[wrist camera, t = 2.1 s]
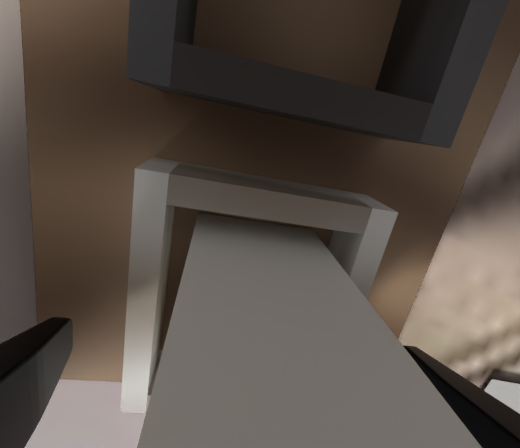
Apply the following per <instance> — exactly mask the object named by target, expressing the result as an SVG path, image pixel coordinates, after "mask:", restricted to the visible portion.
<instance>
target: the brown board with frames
mask: <svg viewBox="0 0 520 448" xmlns="http://www.w3.org/2000/svg"><path fill="white" fill-rule="evenodd" d="M20 12H21V30H22V48H23V66H24V84H25V103H26V121H27V139H28V157H29V175H30V194H31V212H32V230H33V248H34V266H35V284H36V303H37V321H38V324H40V323H41V322H43V321H45V320H47V319H49V318H51V317H65V318H70V319H71V320H72V322H73V348H72V352H71V355H70V357H69V359H68V361H67V364H66V366H65V368H64V370H63V372H62V374H61V377H60V379H69V380H90V381H110V382H122V392H121V408H120V412H128V413H146V412H147V409H148V405H149V401H150V397H151V393H152V389H153V385H154V382H155V378H156V374H157V370H158V366H159V362H160V359H161V355H162V351H163V347H164V343H165V339H166V335H167V332H168V328H169V324H170V320H171V316H172V312H173V308H174V305H175V301H176V297H177V293H178V289H179V285H180V282H181V278H182V274H183V270H184V266H185V262H186V258H187V255H188V251H189V247H190V243H191V239H192V235H193V231H194V228H195V224H196V220H197V216H198V213H203V214H210V215H217V216H224V217H230V218H237V219H244V220H250V221H257V222H264V223H270V224H277V225H284V226H291V227H297V228H304V229H311V230H313V231H314V232H315V233H316V234H317V236H318V237H319V238H320V240H321V241H322V242H323V243H324V245H325V246H326V247H327V249H328V250H329V251H330V252H331V254H332V255H333V256H334V258H335V259H336V260H337V262H338V263H339V264H340V265H341V267H342V268H343V269H344V271H345V272H346V273H347V274H348V276H349V277H350V278H351V280H352V281H353V282H354V283H355V285H356V286H357V287H358V289H359V290H360V291H361V292H362V294H363V295H364V296H365V298H366V299H367V300H368V301H369V303H370V304H371V305H372V307H373V308H374V309H375V310H376V312H377V313H378V314H379V316H380V317H381V318H382V319H383V321H384V322H385V323H386V325H387V326H388V327H389V328H390V330H391V331H392V332H393V334H394V335H395V336H396V338H397V339H398V338H399V335H400V333H401V331H402V328H403V326H404V324H405V321H406V319H407V316H408V314H409V312H410V309H411V307H412V305H413V302H414V300H415V298H416V295H417V293H418V291H419V288H420V286H421V284H422V281H423V279H424V276H425V274H426V272H427V269H428V267H429V265H430V262H431V260H432V258H433V255H434V253H435V251H436V248H437V246H438V244H439V241H440V239H441V236H442V234H443V232H444V229H445V227H446V225H447V222H448V220H449V218H450V215H451V213H452V211H453V208H454V206H455V203H456V201H457V199H458V196H459V194H460V192H461V189H462V187H463V185H464V182H465V180H466V178H467V175H468V173H469V171H470V168H471V166H472V163H473V161H474V159H475V156H476V154H477V152H478V149H479V147H480V145H481V142H482V140H483V138H484V135H485V133H486V130H487V128H488V126H489V123H490V121H491V119H492V116H493V114H494V112H495V109H496V107H497V105H498V102H499V100H500V98H501V95H502V93H503V90H504V88H505V86H506V83H507V81H508V79H509V76H510V74H511V72H512V69H513V67H514V65H515V62H516V60H517V58H518V55H519V53H520V0H20Z"/></svg>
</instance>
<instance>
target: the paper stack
mask: <svg viewBox="0 0 520 448" xmlns="http://www.w3.org/2000/svg"><path fill="white" fill-rule="evenodd" d="M484 391H485V392H487V393H488V394H490V395H491V396H493V397H494V398H496V399H498V400H499V401H501V402H502V403H504V404H505V405H507V406H508V407H510V408H512V409H513V410H515V411H516V412H518V413H519V414H520V384H518V383H512V382H506V381H501V380H495V379H492V380H491V381H490V382H489V384H488V385H487V387H486V388H485V390H484Z"/></svg>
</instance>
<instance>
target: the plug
mask: <svg viewBox="0 0 520 448" xmlns="http://www.w3.org/2000/svg"><path fill="white" fill-rule="evenodd" d="M137 448H482V447H481V446H480V444H479V443H478V442H477V441H476V439H475V438H474V437H473V435H472V434H471V433H470V432H469V430H468V429H467V428H466V426H465V425H464V424H463V423H462V421H461V420H460V419H459V417H458V416H457V415H456V413H455V412H454V411H453V410H452V408H451V407H450V406H449V404H448V403H447V402H446V401H445V399H444V398H443V397H442V395H441V394H440V393H439V392H438V390H437V389H436V388H435V386H434V385H433V384H432V383H431V381H430V380H429V379H428V377H427V376H426V375H425V374H424V372H423V371H422V370H421V368H420V367H419V366H418V365H417V363H416V362H415V361H414V359H413V358H412V357H411V356H410V354H409V353H408V352H407V350H406V349H405V348H404V347H403V345H402V344H401V343H400V341H399V340H398V339H397V338H396V336H395V335H394V334H393V332H392V331H391V330H390V328H389V327H388V326H387V325H386V323H385V322H384V321H383V319H382V318H381V317H380V316H379V314H378V313H377V312H376V310H375V309H374V308H373V307H372V305H371V304H370V303H369V301H368V300H367V299H366V298H365V296H364V295H363V294H362V292H361V291H360V290H359V289H358V287H357V286H356V285H355V283H354V282H353V281H352V280H351V278H350V277H349V276H348V274H347V273H346V272H345V271H344V269H343V268H342V267H341V265H340V264H339V263H338V262H337V260H336V259H335V258H334V256H333V255H332V254H331V252H330V251H329V250H328V249H327V247H326V246H325V245H324V243H323V242H322V241H321V240H320V238H319V237H318V236H317V234H316V233H315V232H314V231H313V230H311V229H304V228H297V227H291V226H284V225H277V224H270V223H264V222H257V221H250V220H244V219H237V218H230V217H224V216H217V215H210V214H203V213H198V216H197V220H196V224H195V228H194V231H193V235H192V239H191V243H190V247H189V251H188V255H187V258H186V262H185V266H184V270H183V274H182V278H181V282H180V285H179V289H178V293H177V297H176V301H175V305H174V308H173V312H172V316H171V320H170V324H169V328H168V332H167V335H166V339H165V343H164V347H163V351H162V355H161V359H160V362H159V366H158V370H157V374H156V378H155V382H154V385H153V389H152V393H151V397H150V401H149V405H148V409H147V412H146V416H145V420H144V424H143V428H142V432H141V436H140V439H139V443H138V447H137Z"/></svg>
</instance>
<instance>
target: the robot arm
mask: <svg viewBox="0 0 520 448" xmlns="http://www.w3.org/2000/svg"><path fill="white" fill-rule="evenodd" d="M403 347H404V348H405V349H406V350H407V352H408V353H409V354H410V356H411V357H412V358H413V359H414V361H415V362H416V363H417V365H418V366H419V367H420V368H421V370H422V371H423V372H424V374H425V375H426V376H427V377H428V379H429V380H430V381H431V383H432V384H433V385H434V386H435V388H436V389H437V390H438V392H439V393H440V394H441V395H442V397H443V398H444V399H445V401H446V402H447V403H448V404H449V406H450V407H451V408H452V410H453V411H454V412H455V413H456V415H457V416H458V417H459V419H460V420H461V421H462V423H463V424H464V425H465V426H466V428H467V429H468V430H469V432H470V433H471V434H472V435H473V437H474V438H475V439H476V441H477V442H478V443H479V444H480V446H481V447H482V448H520V414H519V413H518V412H516V411H515V410H513V409H512V408H510V407H508V406H507V405H505V404H504V403H502V402H501V401H499V400H498V399H496V398H494V397H493V396H491V395H490V394H488V393H487V392H485V391H484V390H482V389H481V388H479V387H477V386H476V385H474V384H473V383H471V382H470V381H468V380H467V379H465V378H464V377H462V376H460V375H459V374H457V373H456V372H454V371H453V370H451V369H450V368H448V367H446V366H445V365H443V364H442V363H440V362H439V361H437V360H436V359H434V358H433V357H431V356H429V355H428V354H426V353H425V352H423V351H422V350H420V349H419V348H417V347H414V346H403ZM72 348H73V322H72V320H71V319H70V318H65V317H51V318H49V319H47V320H45V321H43V322H41V323H40V324H38V325H36V326H34V327H32V328H30V329H28V330H26V331H24V332H22V333H20V334H19V335H17V336H15V337H13V338H11V339H9V340H7V341H5V342H3V343H1V344H0V448H24V447H25V446H26V444H27V442H28V441H29V439H30V437H31V435H32V434H33V432H34V430H35V428H36V427H37V425H38V423H39V421H40V419H41V417H42V415H43V413H44V411H45V409H46V407H47V405H48V403H49V400H50V398H51V396H52V394H53V392H54V390H55V387H56V385H57V383H58V381H59V379H60V377H61V374H62V372H63V370H64V368H65V366H66V364H67V361H68V359H69V357H70V355H71V352H72Z"/></svg>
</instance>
